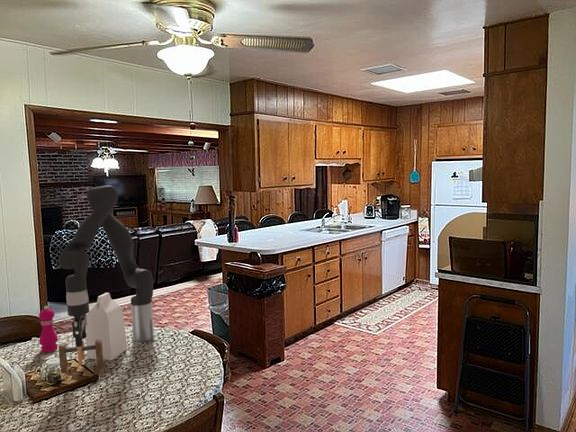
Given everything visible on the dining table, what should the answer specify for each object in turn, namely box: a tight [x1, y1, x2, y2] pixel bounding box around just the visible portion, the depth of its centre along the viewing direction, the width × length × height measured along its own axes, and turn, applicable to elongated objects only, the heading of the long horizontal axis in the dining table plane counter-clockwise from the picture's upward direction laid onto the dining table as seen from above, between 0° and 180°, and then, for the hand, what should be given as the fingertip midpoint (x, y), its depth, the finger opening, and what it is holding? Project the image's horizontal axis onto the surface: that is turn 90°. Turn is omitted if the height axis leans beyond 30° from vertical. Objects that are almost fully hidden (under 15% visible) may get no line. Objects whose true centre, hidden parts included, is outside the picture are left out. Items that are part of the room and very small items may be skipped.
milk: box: [85, 292, 129, 361], centre depth 188 cm, size 12×12×26 cm
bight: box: [77, 339, 86, 366], centre depth 170 cm, size 1×6×7 cm, turn 15°
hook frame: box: [58, 339, 107, 376], centre depth 170 cm, size 16×10×12 cm, turn 105°
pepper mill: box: [38, 305, 59, 353], centre depth 194 cm, size 7×7×20 cm
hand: (81, 342), depth 170 cm, fingers open, 8 cm apart
